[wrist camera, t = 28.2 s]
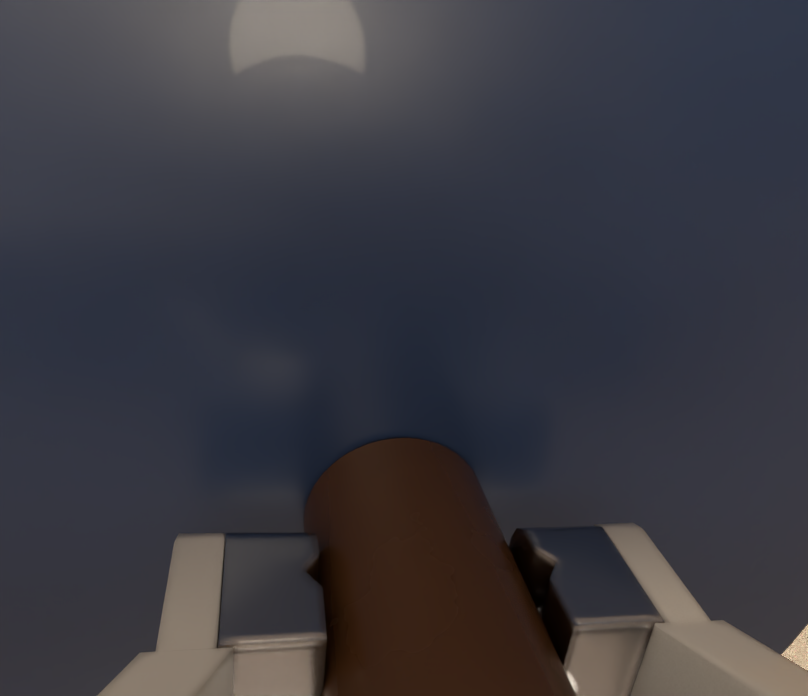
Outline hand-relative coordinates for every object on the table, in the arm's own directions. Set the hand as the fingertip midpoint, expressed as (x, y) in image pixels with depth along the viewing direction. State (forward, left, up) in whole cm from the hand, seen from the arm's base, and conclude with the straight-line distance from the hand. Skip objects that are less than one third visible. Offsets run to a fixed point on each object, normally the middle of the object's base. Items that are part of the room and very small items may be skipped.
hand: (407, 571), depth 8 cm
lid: (0, 0, -2) cm, 2 cm away
